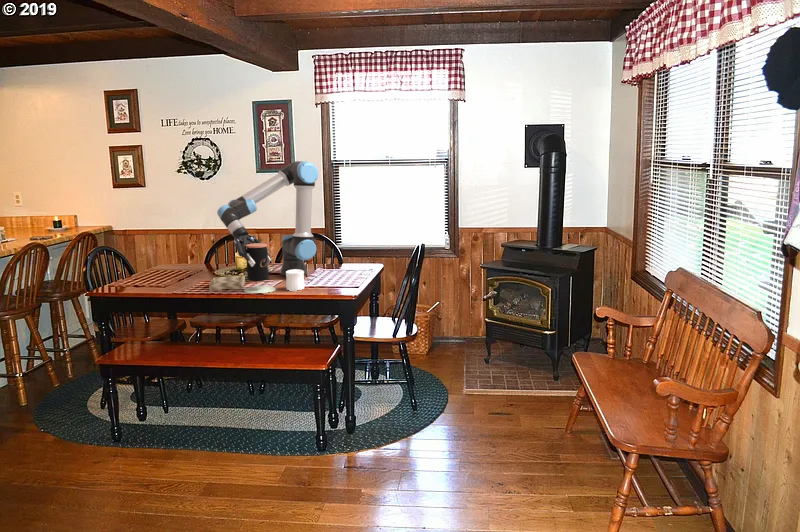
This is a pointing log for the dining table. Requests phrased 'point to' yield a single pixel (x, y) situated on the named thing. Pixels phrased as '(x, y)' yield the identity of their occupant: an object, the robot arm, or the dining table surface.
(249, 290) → the sage mat
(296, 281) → the cup
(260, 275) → the coffee jar
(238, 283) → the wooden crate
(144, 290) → the dining table surface
